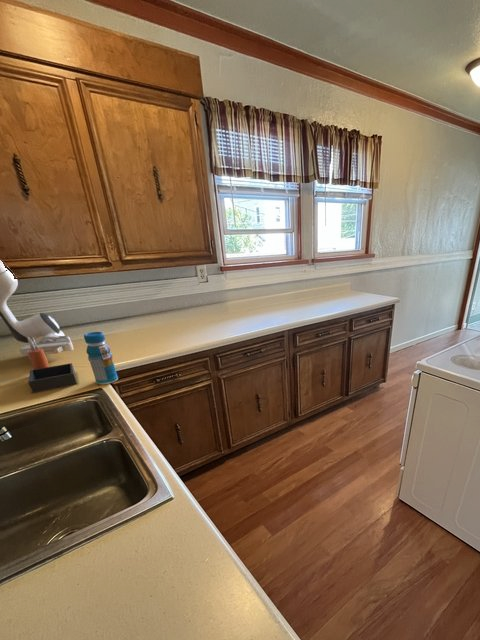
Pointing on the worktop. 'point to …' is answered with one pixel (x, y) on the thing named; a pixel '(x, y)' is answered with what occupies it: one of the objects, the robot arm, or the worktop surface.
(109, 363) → the beverage bottle
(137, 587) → the worktop surface
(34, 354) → the cutlery cup
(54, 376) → the bin
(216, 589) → the worktop surface
